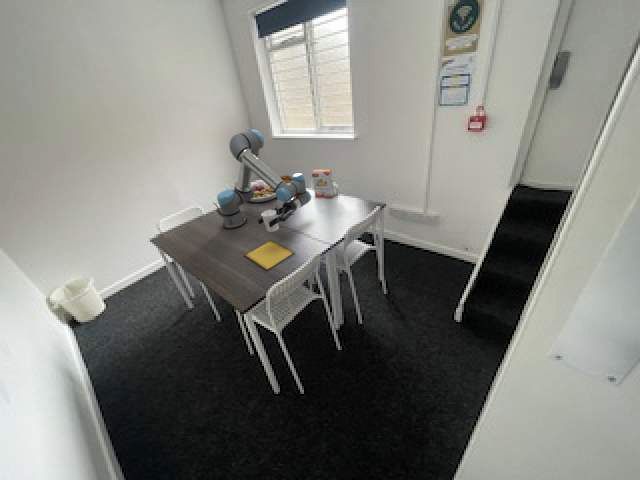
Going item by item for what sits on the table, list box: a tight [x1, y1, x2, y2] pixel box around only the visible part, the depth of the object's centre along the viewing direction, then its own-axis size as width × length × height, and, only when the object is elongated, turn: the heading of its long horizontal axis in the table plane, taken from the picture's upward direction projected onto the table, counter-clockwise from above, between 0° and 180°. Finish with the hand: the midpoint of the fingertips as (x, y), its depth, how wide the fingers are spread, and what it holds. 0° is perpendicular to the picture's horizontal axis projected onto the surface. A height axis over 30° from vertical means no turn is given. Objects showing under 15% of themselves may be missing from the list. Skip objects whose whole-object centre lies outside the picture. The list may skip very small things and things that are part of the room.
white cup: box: [261, 209, 280, 233], centre depth 143 cm, size 8×8×10 cm
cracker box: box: [311, 169, 335, 199], centre depth 199 cm, size 14×6×21 cm, turn 68°
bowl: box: [248, 184, 277, 203], centre depth 221 cm, size 30×30×8 cm
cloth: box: [244, 240, 294, 271], centre depth 146 cm, size 22×18×1 cm
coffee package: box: [279, 175, 295, 203], centre depth 197 cm, size 10×12×22 cm
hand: (264, 223), depth 139 cm, fingers closed on white cup, 8 cm apart
